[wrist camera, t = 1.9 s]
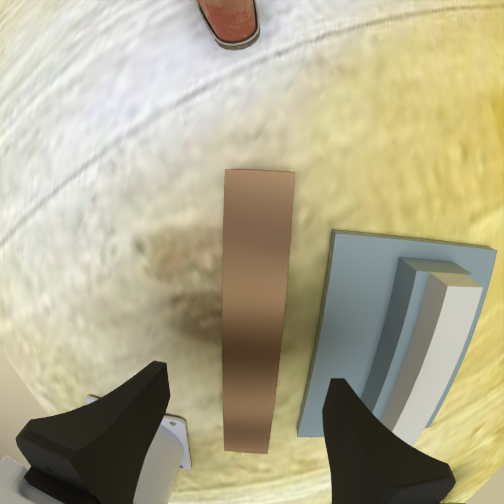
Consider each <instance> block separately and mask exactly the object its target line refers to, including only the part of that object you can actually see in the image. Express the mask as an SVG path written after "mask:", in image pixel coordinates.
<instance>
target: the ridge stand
mask: <svg viewBox="0 0 504 504" xmlns="http://www.w3.org/2000/svg"><path fill="white" fill-rule="evenodd" d="M496 254H497V251H496V250H494V249H492V248H490V247H485V246H478V245H470V244H462V243H454V242H446V241H437V240H429V239H420V238H411V237H401V236H392V235H382V234H372V233H362V232H352V231H341V230H332V236H331V244H330V252H329V260H328V267H327V274H326V281H325V288H324V294H323V301H322V307H321V313H320V319H319V325H318V330H317V336H316V341H315V347H314V352H313V357H312V362H311V367H310V372H309V377H308V381H307V386H306V391H305V395H304V400H303V404H302V408H301V413H300V417H299V421H298V425H297V437H324V432H323V420H322V409H323V405H324V402H325V398H326V395H327V391H328V387H329V383H330V380H331V378H345V380H346V381H347V382H348V384H349V385H350V386H351V388H352V389H353V390H354V391H355V393H356V394H357V395H358V397H359V398H360V399H361V400H362V402H363V403H364V404H365V405H366V406H367V408H368V409H369V410H370V411H371V412H372V413H373V414H374V416H375V417H376V418H377V419H378V420H379V421H380V422H381V423H382V424H383V425H384V426H386V427H387V428H388V429H389V430H390V431H391V432H393V433H394V434H395V435H396V436H397V437H399V438H400V439H402V440H403V441H404V442H406V443H407V444H409V445H410V446H412V447H413V446H414V444H415V443H416V441H417V440H418V438H419V436H420V435H421V433H422V431H423V429H424V428H428V427H430V425H431V423H432V422H433V420H434V418H435V416H436V415H437V413H438V411H439V409H440V407H441V405H442V403H443V401H444V400H445V398H446V396H447V394H448V392H449V390H450V387H451V385H452V383H453V381H454V379H455V377H456V375H457V372H458V370H459V368H460V366H461V363H462V361H463V359H464V356H465V354H466V351H467V349H468V346H469V344H470V341H471V339H472V336H473V333H474V330H475V328H476V325H477V322H478V319H479V316H480V313H481V310H482V307H483V304H484V300H485V297H486V293H487V290H488V286H489V283H490V279H491V275H492V271H493V267H494V263H495V258H496Z"/></svg>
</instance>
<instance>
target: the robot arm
mask: <svg viewBox="0 0 504 504" xmlns="http://www.w3.org/2000/svg"><path fill="white" fill-rule="evenodd" d="M169 399H170V389H169V381H168V373H167V364H166V363H163V362H158V361H153V362H151V363H150V364H149V365H147V366H146V367H145V368H144V369H142V370H141V371H140V372H138V373H137V374H136V375H135V376H133V377H132V378H131V379H129V380H128V381H126V382H125V383H124V384H122V385H121V386H119V387H118V388H116V389H115V390H113V391H112V392H110V393H109V394H107V395H105V396H103V397H102V398H100V399H98V398H95V397H92V396H87V398H86V402H87V405H85V406H82V407H80V408H77V409H75V410H72V411H69V412H66V413H62V414H59V415H55V416H50V417H45V418H38V419H31V420H30V421H29V422H28V423H27V424H26V426H25V427H24V428H23V429H22V431H21V432H20V433H19V434H18V436H17V437H16V443H17V446H18V447H19V449H20V451H21V452H22V454H23V455H24V456H25V458H26V459H27V461H28V462H29V463H30V465H31V467H30V469H29V470H27V469H26V468H25V467H24V466H22V465H21V464H19V463H18V462H16V461H15V460H13V459H12V458H10V457H8V456H7V455H5V456H4V457H3V458H2V460H1V461H0V504H168V501H169V498H170V495H171V492H172V488H173V485H174V482H175V479H176V475H177V472H178V469H184V470H190V469H191V466H192V465H191V459H190V452H189V445H188V438H187V430H186V423H185V421H184V420H183V419H181V418H176V417H171V416H166V415H165V412H166V409H167V406H168V402H169ZM322 420H323V432H324V437H325V443H326V448H327V453H328V459H329V464H330V471H331V483H332V504H440V503H439V502H440V501H441V500H442V499H443V498H444V497H445V496H446V495H447V494H448V493H449V492H450V491H451V490H452V488H453V487H454V485H455V482H456V481H455V478H454V476H453V473H452V471H451V469H450V467H449V465H448V464H447V463H444V462H442V461H439V460H437V459H435V458H432V457H430V456H428V455H426V454H424V453H422V452H420V451H419V450H417V449H415V448H414V447H412V446H410V445H409V444H407V443H406V442H404V441H403V440H402V439H400V438H399V437H397V436H396V435H395V434H394V433H393V432H391V431H390V430H389V429H388V428H387V427H386V426H384V425H383V424H382V423H381V422H380V421H379V420H378V419H377V418H376V417H375V416H374V414H373V413H372V412H371V411H370V410H369V409H368V408H367V406H366V405H365V404H364V403H363V402H362V400H361V399H360V398H359V397H358V395H357V394H356V393H355V391H354V390H353V389H352V388H351V386H350V385H349V384H348V382H347V381H346V380H345V378H331V380H330V383H329V387H328V391H327V395H326V398H325V402H324V405H323V409H322Z"/></svg>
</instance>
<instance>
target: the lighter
mask: <svg viewBox="0 0 504 504" xmlns="http://www.w3.org/2000/svg"><path fill="white" fill-rule="evenodd" d="M195 1H196V4H197V6H198V8H199V11H200V13H201V15H202V18H203V20H204V22H205V24H206V26H207V27H208V29H209V31H210V32H211V34H212V36H213V37H214V39H215V41H216V42H217V44H218V45H219V46H220V47H222V48H225V49H227V50H241V49H245V48H247V47H250V46H251V45H252V44H254V43H255V42H256V41H257V39H258V38H259V35H260V26H259V17H258V9H257V3H256V0H195Z"/></svg>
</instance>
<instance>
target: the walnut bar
mask: <svg viewBox="0 0 504 504" xmlns="http://www.w3.org/2000/svg"><path fill="white" fill-rule="evenodd" d="M294 180H295V173H294V172H286V171H269V170H247V169H225V184H224V219H223V275H222V372H223V425H224V451H233V452H244V453H258V454H268V447H269V440H270V433H271V425H272V418H273V410H274V402H275V394H276V386H277V377H278V369H279V360H280V351H281V341H282V332H283V322H284V311H285V301H286V290H287V278H288V266H289V254H290V241H291V227H292V212H293V197H294Z"/></svg>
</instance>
